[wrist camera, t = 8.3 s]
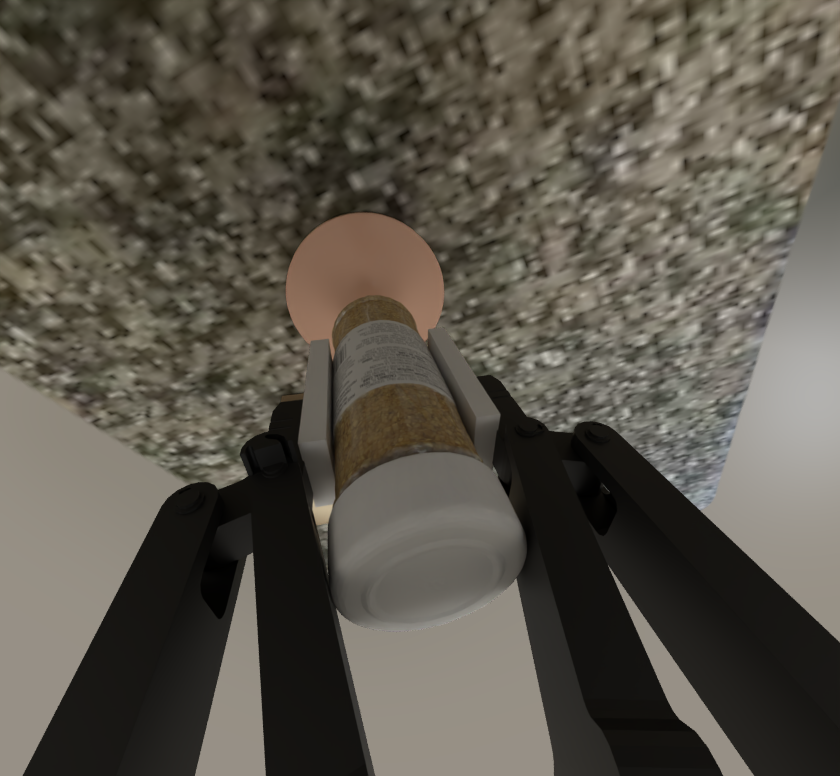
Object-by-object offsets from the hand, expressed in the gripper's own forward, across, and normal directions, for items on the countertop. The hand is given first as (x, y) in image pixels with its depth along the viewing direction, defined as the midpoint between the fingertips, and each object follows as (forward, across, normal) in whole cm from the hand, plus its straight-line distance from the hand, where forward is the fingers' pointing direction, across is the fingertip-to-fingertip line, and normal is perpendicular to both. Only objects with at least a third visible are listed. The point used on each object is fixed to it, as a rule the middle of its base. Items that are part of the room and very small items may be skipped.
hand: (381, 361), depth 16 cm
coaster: (+9, 0, 0) cm, 9 cm away
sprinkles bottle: (+3, 0, 0) cm, 3 cm away
